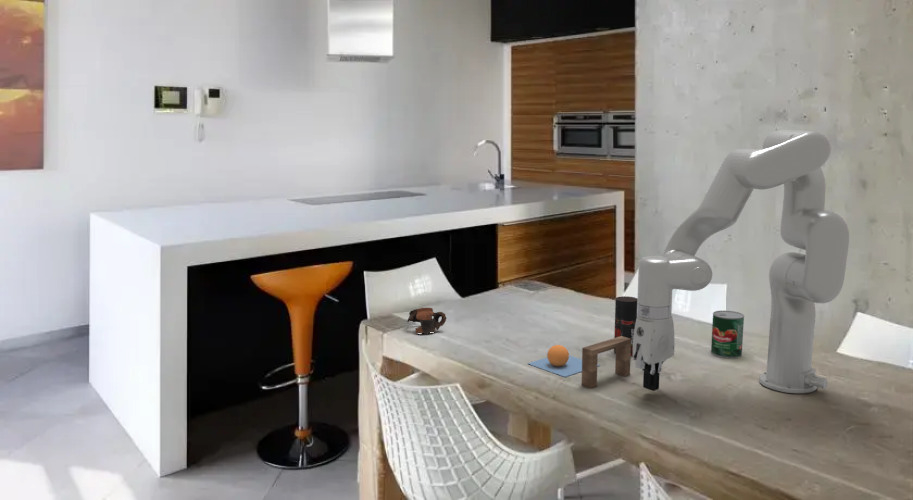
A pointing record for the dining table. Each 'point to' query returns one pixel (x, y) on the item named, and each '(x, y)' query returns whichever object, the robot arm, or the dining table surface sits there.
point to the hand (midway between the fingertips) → (650, 388)
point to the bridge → (593, 350)
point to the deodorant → (625, 318)
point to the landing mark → (566, 370)
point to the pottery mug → (427, 319)
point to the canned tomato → (727, 334)
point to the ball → (558, 355)
